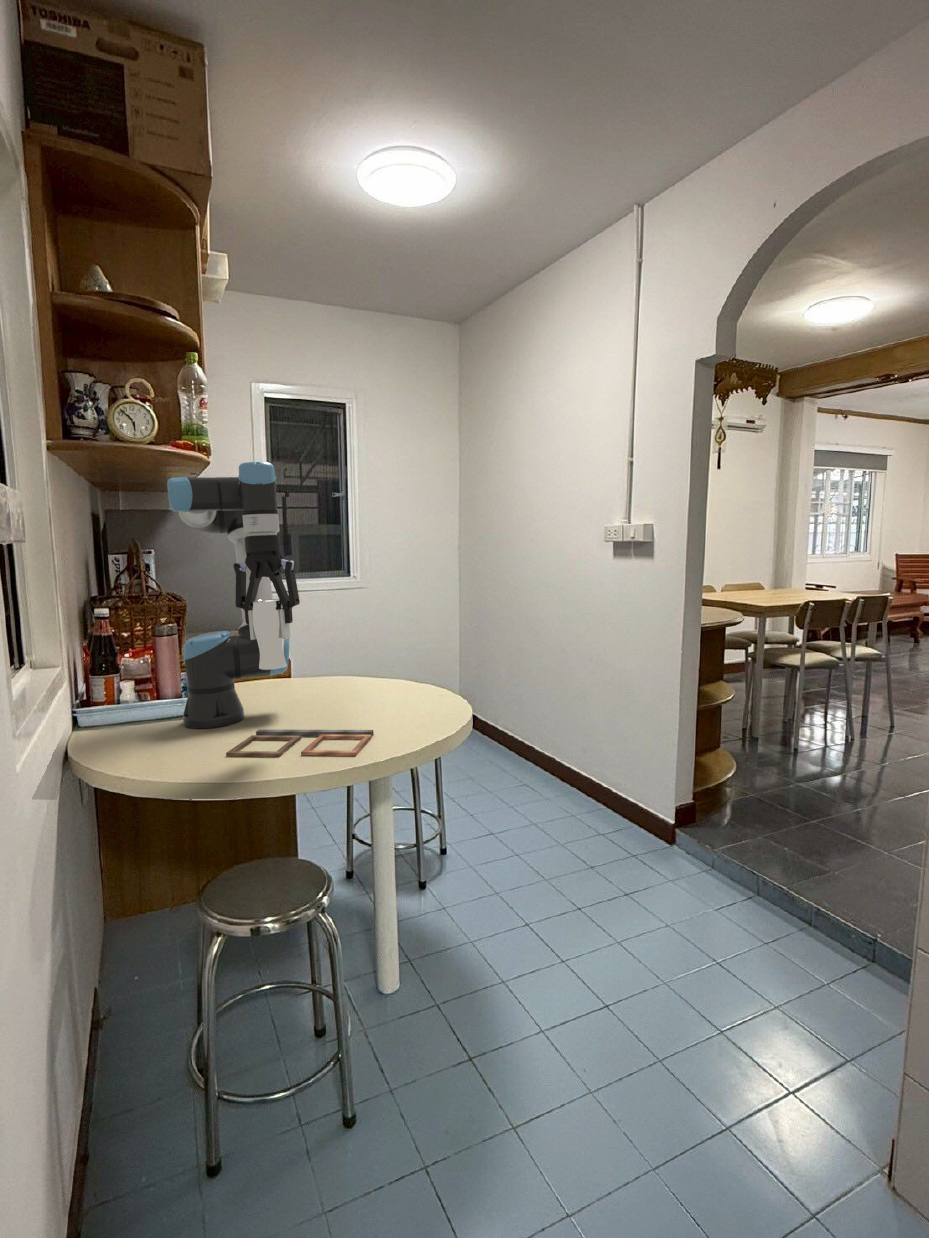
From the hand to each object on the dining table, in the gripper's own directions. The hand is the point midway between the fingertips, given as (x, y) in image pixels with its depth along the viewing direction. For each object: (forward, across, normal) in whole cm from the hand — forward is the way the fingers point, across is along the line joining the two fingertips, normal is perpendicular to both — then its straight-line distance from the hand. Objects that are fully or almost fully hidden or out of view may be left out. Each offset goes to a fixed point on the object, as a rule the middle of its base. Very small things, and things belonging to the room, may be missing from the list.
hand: (270, 638), depth 146 cm
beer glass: (+7, 0, 0) cm, 7 cm away
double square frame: (+25, +5, +2) cm, 26 cm away
